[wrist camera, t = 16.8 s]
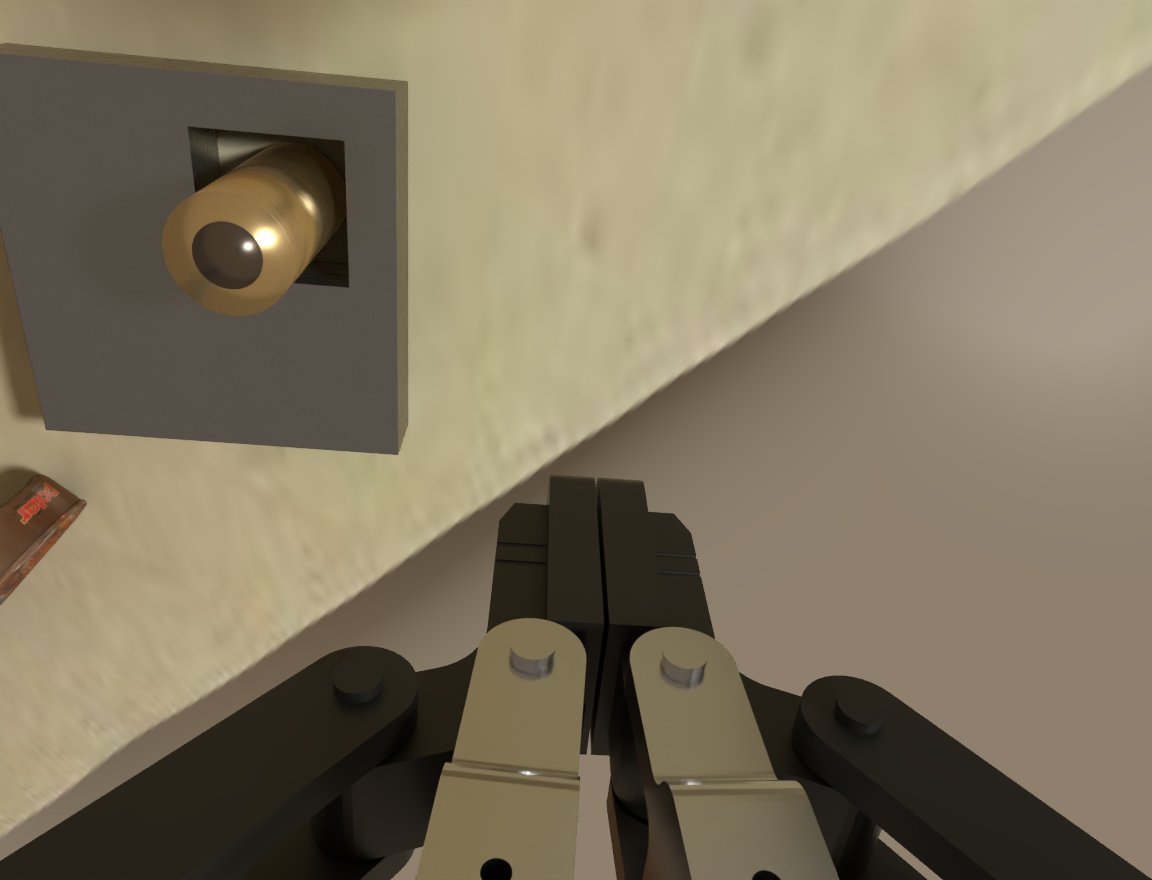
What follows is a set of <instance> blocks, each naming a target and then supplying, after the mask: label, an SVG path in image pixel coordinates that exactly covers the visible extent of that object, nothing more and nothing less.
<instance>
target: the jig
mask: <svg viewBox="0 0 1152 880" xmlns="http://www.w3.org/2000/svg"><path fill="white" fill-rule="evenodd" d="M216 129H221V130H232V131H243V132H254V133H265V134H276V135H287V136H298V137H309V138H320V139H331V140H342V141H344V146H345V175H346V205H347V234H348V263H349V265H344V264H332V263H320V262H310V263H309V265H308V266H307V267H306V268H305V269H304V271H303V272H302V273H301V274H300V275H299V277H298V278H297V279H296V280H295V281H294V283H293V284H292V285H291V286H290V288H289V289H288V290H287V291H286V292H285V294H284V295H283V296H282V297H281V298H280V299H279V300H278V301H277V302H276V303H275V304H274V305H273V306H271V307H270V308H268V309H266V310H265V311H262V312H260V313H257V314H253V315H247V316H231V315H224V314H221V313H217V312H214V311H212V310H209V309H207V308H205V307H203V306H201V305H200V304H198V303H197V302H195V301H194V300H192V299H191V298H190V297H189V296H188V295H186V294H185V293H184V292H183V291H182V289H181V288H180V287H179V286H178V285H177V283H176V282H175V281H174V279H173V277H172V276H171V274H170V272H169V270H168V268H167V266H166V263H165V260H164V255H163V250H162V235H163V230H164V226H165V223H166V221H167V219H168V217H169V215H170V214H171V212H172V211H173V210H174V209H175V207H176V206H177V205H179V204H180V203H181V202H182V201H184V200H185V199H187V198H188V197H190V196H192V195H193V194H195V193H196V192H198V191H199V190H201V189H203V188H204V187H206V186H207V185H209V184H210V183H212V182H214V181H215V180H217V179H218V178H220V177H221V175H220V165H219V155H218V145H217V135H216ZM0 228H1V232H2V237H3V241H4V245H5V250H6V254H7V259H8V263H9V268H10V272H11V277H12V281H13V285H14V290H15V294H16V299H17V303H18V308H19V312H20V317H21V321H22V325H23V330H24V334H25V339H26V343H27V348H28V352H29V356H30V361H31V365H32V370H33V374H34V379H35V383H36V388H37V392H38V396H39V401H40V405H41V410H42V414H43V419H44V423H45V428H46V430H56V431H70V432H84V433H98V434H112V435H126V436H140V437H154V438H168V439H182V440H196V441H211V442H225V443H239V444H253V445H267V446H281V447H295V448H309V449H323V450H337V451H351V452H365V453H379V454H393V455H398V454H399V451H400V448H401V444H402V441H403V438H404V435H405V432H406V429H407V426H408V82H407V81H397V80H386V79H376V78H365V77H355V76H344V75H334V74H323V73H313V72H302V71H292V70H281V69H271V68H260V67H250V66H239V65H229V64H218V63H208V62H197V61H187V60H176V59H166V58H156V57H145V56H135V55H124V54H114V53H103V52H93V51H82V50H72V49H61V48H51V47H40V46H30V45H19V44H9V43H3V44H0Z"/></svg>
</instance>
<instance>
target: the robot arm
mask: <svg viewBox="0 0 1152 880" xmlns="http://www.w3.org/2000/svg"><path fill="white" fill-rule="evenodd" d="M589 731H590V737H591V755H609V756H610V771H611V777H610V783H609V790H608V796H607V814H608V821H609V828H610V835H611V842H612V849H613V857H614V864H615V871H616V878H617V880H927V879H926V878H925V877H924V876H922V875H921V874H920V873H919V872H918V871H916V870H915V869H914V868H913V867H912V866H911V865H909V864H908V863H907V862H906V861H905V860H903V859H902V858H901V857H900V856H899V855H898V854H896V853H895V852H894V851H893V850H892V849H891V848H889V847H888V846H887V845H886V844H885V843H883V842H882V841H881V840H880V839H879V838H878V837H879V835H880V832H881V830H882V829H883V830H884V831H885V832H887V833H888V834H889V835H890V836H891V837H892V838H894V839H895V840H896V841H897V842H899V843H900V844H901V845H902V846H903V847H904V848H906V849H907V850H908V851H909V852H910V853H912V854H913V855H914V856H915V857H916V858H918V859H919V860H920V861H921V862H922V863H924V864H925V865H926V866H927V867H928V868H929V869H931V870H932V871H933V872H934V873H936V874H937V875H938V876H939V877H940V878H941V879H943V880H1152V879H1151V878H1149V877H1148V876H1146V875H1145V874H1144V873H1142V872H1141V871H1139V870H1138V869H1136V868H1135V867H1134V866H1132V865H1131V864H1129V863H1128V862H1127V861H1125V860H1124V859H1122V858H1121V857H1120V856H1118V855H1117V854H1115V853H1114V852H1113V851H1111V850H1110V849H1108V848H1107V847H1105V846H1104V845H1103V844H1101V843H1100V842H1098V841H1097V840H1096V839H1094V838H1093V837H1091V836H1090V835H1089V834H1087V833H1086V832H1085V831H1083V830H1082V829H1080V828H1079V827H1078V826H1076V825H1075V824H1073V823H1072V822H1070V821H1069V820H1068V819H1066V818H1065V817H1063V816H1062V815H1061V814H1059V813H1058V812H1056V811H1055V810H1054V809H1052V808H1050V807H1049V806H1048V805H1046V804H1045V803H1044V802H1042V801H1041V800H1039V799H1038V798H1037V797H1035V796H1034V795H1033V794H1031V793H1030V792H1028V791H1027V790H1025V789H1024V788H1022V787H1021V786H1020V785H1018V784H1017V783H1016V782H1014V781H1013V780H1011V779H1010V778H1009V777H1007V776H1006V775H1004V774H1003V773H1002V772H1000V771H999V770H997V769H996V768H995V767H993V766H992V765H990V764H989V763H988V762H986V761H985V760H983V759H982V758H981V757H979V756H978V755H976V754H975V753H974V752H972V751H971V750H969V749H968V748H966V747H965V746H964V745H962V744H961V743H960V742H958V741H957V740H955V739H954V738H952V737H951V736H950V735H948V734H947V733H945V732H944V731H943V730H941V729H940V728H938V727H937V726H936V725H934V724H933V723H931V722H930V721H929V720H927V719H926V718H924V717H923V716H921V715H920V714H919V713H917V712H916V711H914V710H913V709H912V708H910V707H909V706H908V705H906V704H905V703H903V702H902V701H901V700H899V699H898V698H896V697H895V696H893V695H892V694H891V693H889V692H888V691H886V690H884V689H883V688H881V687H879V686H877V685H875V684H873V683H871V682H868V681H865V680H863V679H858V678H855V677H849V676H827V677H823V678H820V679H817V680H815V681H814V682H812V683H811V684H810V685H808V686H807V688H806V689H805V690H804V692H803V695H802V697H801V696H798V695H794V694H791V693H788V692H784V691H781V690H778V689H775V688H771V687H768V686H765V685H763V684H760V683H758V682H755V681H753V680H751V679H749V678H748V677H746V676H744V675H743V674H741V673H740V672H739V671H738V669H737V666H736V663H735V661H734V659H733V657H732V655H731V654H730V653H729V651H728V650H727V649H726V648H725V647H724V646H723V645H722V644H721V643H719V642H718V641H717V640H715V637H714V632H713V628H712V624H711V619H710V615H709V611H708V606H707V601H706V597H705V592H704V588H703V584H702V579H701V577H700V570H699V566H698V562H697V559H696V553H695V549H694V544H693V540H692V535H691V533H690V532H689V530H688V529H687V528H686V527H685V526H684V525H683V524H682V523H681V521H680V520H679V519H678V518H677V517H676V516H675V514H672V513H657V512H648V508H647V501H646V494H645V488H644V484H643V481H639V480H638V481H637V480H624V479H623V480H622V479H610V478H597V482H596V487H595V478H592V477H580V476H566V475H551V474H550V475H549V484H548V494H547V505H538V504H524V503H514V504H513V506H512V507H511V508H510V509H509V510H508V511H507V512H506V514H505V515H504V516H503V517H502V518H501V520H500V521H499V529H498V538H497V547H496V556H495V566H494V574H493V583H492V593H491V602H490V611H489V620H488V628H487V632H486V635H485V636H484V637H483V639H482V640H481V642H480V644H479V647H478V648H476V649H475V650H474V651H473V652H472V653H471V654H469V655H468V656H467V657H465V658H463V659H461V660H460V661H458V662H456V663H453V664H450V665H447V666H444V667H440V668H435V669H430V670H424V671H419V672H415V671H414V669H413V667H412V666H411V664H410V663H409V662H408V661H407V660H406V659H405V658H403V657H402V656H401V655H399V654H397V653H395V652H393V651H390V650H387V649H384V648H380V647H371V646H357V647H349V648H345V649H341V650H338V651H335V652H332V653H330V654H328V655H326V656H324V657H322V658H320V659H319V660H317V661H316V662H314V663H313V664H311V665H309V666H308V667H306V668H305V669H303V670H301V671H300V672H298V673H297V674H295V675H294V676H292V677H290V678H289V679H287V680H286V681H284V682H282V683H281V684H279V685H278V686H276V687H275V688H273V689H271V690H270V691H268V692H267V693H265V694H264V695H262V696H260V697H259V698H257V699H256V700H254V701H252V702H251V703H249V704H248V705H246V706H245V707H243V708H242V709H240V710H238V711H237V712H235V713H233V714H232V715H230V716H229V717H227V718H226V719H224V720H223V721H221V722H219V723H218V724H216V725H215V726H213V727H211V728H210V729H209V730H207V731H205V732H203V733H202V734H200V735H199V736H197V737H196V738H194V739H192V740H191V741H189V742H188V743H186V744H184V745H183V746H181V747H180V748H178V749H177V750H175V751H173V752H172V753H170V754H169V755H167V756H165V757H164V758H162V759H161V760H159V761H158V762H156V763H154V764H153V765H151V766H150V767H148V768H146V769H145V770H143V771H142V772H140V773H139V774H137V775H135V776H134V777H132V778H131V779H129V780H127V781H126V782H124V783H123V784H121V785H120V786H118V787H116V788H115V789H113V790H112V791H110V792H109V793H107V794H106V795H104V796H102V797H101V798H99V799H98V800H96V801H94V802H93V803H91V804H90V805H88V806H87V807H85V808H83V809H82V810H80V811H78V812H77V813H76V814H74V815H72V816H71V817H69V818H67V819H66V820H64V821H63V822H61V823H60V824H58V825H56V826H55V827H53V828H52V829H50V830H48V831H47V832H45V833H44V834H42V835H40V836H39V837H37V838H36V839H34V840H33V841H31V842H30V843H28V844H26V845H25V846H23V847H22V848H20V849H18V850H17V851H15V852H14V853H12V854H10V855H9V856H7V857H6V858H4V859H3V860H1V861H0V880H390V879H391V878H393V877H394V876H395V875H396V874H397V873H398V872H399V871H400V870H401V869H402V868H403V867H404V866H405V865H406V863H407V862H408V861H409V859H410V857H411V856H412V854H413V851H414V849H415V848H419V847H422V846H423V850H422V854H421V858H420V863H419V867H418V871H417V875H416V879H415V880H574V866H575V852H576V836H577V822H578V806H579V791H580V777H579V776H578V771H579V757H580V754H586V753H587V746H588V738H589Z"/></svg>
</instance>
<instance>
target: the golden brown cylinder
mask: <svg viewBox="0 0 1152 880" xmlns="http://www.w3.org/2000/svg"><path fill="white" fill-rule="evenodd" d="M346 211H347V205H346V186H345V183H344V181H343V178H342V176H341V174H340V172H339V171H338V169H337V168H336V167H335V165H334V164H333V163H332V162H331V161H330V160H329V159H328V158H327V157H326V156H325V155H323V154H322V153H321V152H319V151H317V150H316V149H314V148H312V147H309V146H307V145H304V144H300V143H294V142H285V143H278V144H274V145H272V146H269V147H267V148H266V149H264V150H262V151H261V152H259V153H258V154H256V155H255V156H253V157H251V158H250V159H248V160H247V161H245V162H244V163H242V164H240V165H239V166H237V167H236V168H234V169H233V170H231V171H229V172H228V173H226V174H225V175H223V176H222V177H220V178H218V179H217V180H215V181H214V182H212V183H210V184H209V185H207V186H206V187H204V188H203V189H201V190H199V191H198V192H196V193H195V194H193V195H192V196H190V197H188V198H187V199H185V200H184V201H182V202H181V203H180V204H179V205H177V206H176V207H175V209H174V210H173V211H172V212H171V214H170V215H169V217H168V219H167V221H166V223H165V226H164V230H163V235H162V250H163V255H164V260H165V263H166V266H167V268H168V270H169V272H170V274H171V276H172V277H173V279H174V281H175V282H176V283H177V285H178V286H179V287H180V288H181V289H182V291H183V292H184V293H185V294H186V295H188V296H189V297H190V298H191V299H192V300H194V301H195V302H197V303H198V304H200V305H201V306H203V307H205V308H207V309H209V310H212V311H214V312H217V313H221V314H224V315H231V316H247V315H253V314H257V313H260V312H262V311H265V310H266V309H268V308H270V307H271V306H273V305H274V304H275V303H276V302H277V301H278V300H279V299H280V298H281V297H282V296H283V295H284V294H285V292H286V291H287V290H288V289H289V288H290V286H291V285H292V284H293V283H294V281H295V280H296V279H297V278H298V277H299V275H300V274H301V273H302V272H303V271H304V269H305V268H306V267H307V266H308V265H309V263H310V262H311V261H312V260H313V259H314V257H315V256H316V255H317V254H318V253H319V251H320V250H321V249H322V248H323V247H324V245H325V244H326V243H327V242H328V241H329V239H330V238H331V237H332V236H333V234H334V233H335V232H336V231H337V230H338V228H339V227H340V225H341V224H342V222H343V220H344V218H345V215H346Z"/></svg>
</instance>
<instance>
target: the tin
mask: <svg viewBox="0 0 1152 880" xmlns="http://www.w3.org/2000/svg"><path fill="white" fill-rule="evenodd" d="M86 504H87V502H86V501H85V500H81V499H79V498H78V497H76V496H75V495H73V494H72V493H71V492H69V491H68V490H66V489H65V488H64V487H62V486H61V485H59V484H58V483H56V482H55V481H54V480H52V479H50V478H49V477H46V476H43V475H37V476H34V477H33V478H31V480H30V481H29V482H28V484H27V485H26V486H25V488H24V489H22V490H21V491H20V492H19V493H17V494H16V495H15V496H14V497H13V498H12V499H10V500H9V501H8V502H6V503H5V504H4V505H2V506H1V507H0V605H1V604H2V603H3V602H4V601H5V600H6V599H7V598H8V597H9V595H10V594H11V593H12V592H13V591H14V590H15V588H16V587H17V586H18V585H19V584H20V583H21V582H22V580H23V579H24V578H25V577H26V576H27V575H28V574H29V572H30V571H31V570H32V569H33V568H34V567H35V565H36V564H37V563H38V562H39V561H40V560H41V559H42V557H43V556H44V555H45V554H46V553H47V552H48V551H49V549H50V548H51V547H52V546H53V545H54V544H55V543H56V541H57V540H58V539H59V538H60V537H61V536H62V535H63V533H64V532H65V531H66V530H67V529H68V528H69V526H70V525H71V524H72V523H73V522H74V521H75V519H76V518H77V517H78V515H79V514H80V513H81V512H82V510H83V509H84V507H85V506H86Z"/></svg>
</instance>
